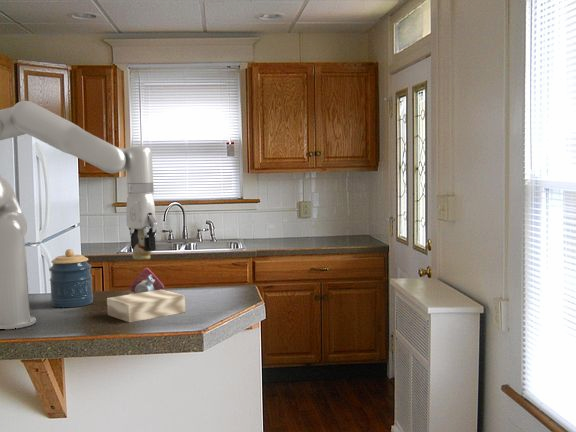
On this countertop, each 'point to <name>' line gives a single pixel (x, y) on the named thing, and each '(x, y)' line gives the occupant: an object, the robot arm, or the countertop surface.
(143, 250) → the chocolate bunny
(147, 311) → the birch riser
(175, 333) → the countertop surface
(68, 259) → the canister
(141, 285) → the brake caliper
